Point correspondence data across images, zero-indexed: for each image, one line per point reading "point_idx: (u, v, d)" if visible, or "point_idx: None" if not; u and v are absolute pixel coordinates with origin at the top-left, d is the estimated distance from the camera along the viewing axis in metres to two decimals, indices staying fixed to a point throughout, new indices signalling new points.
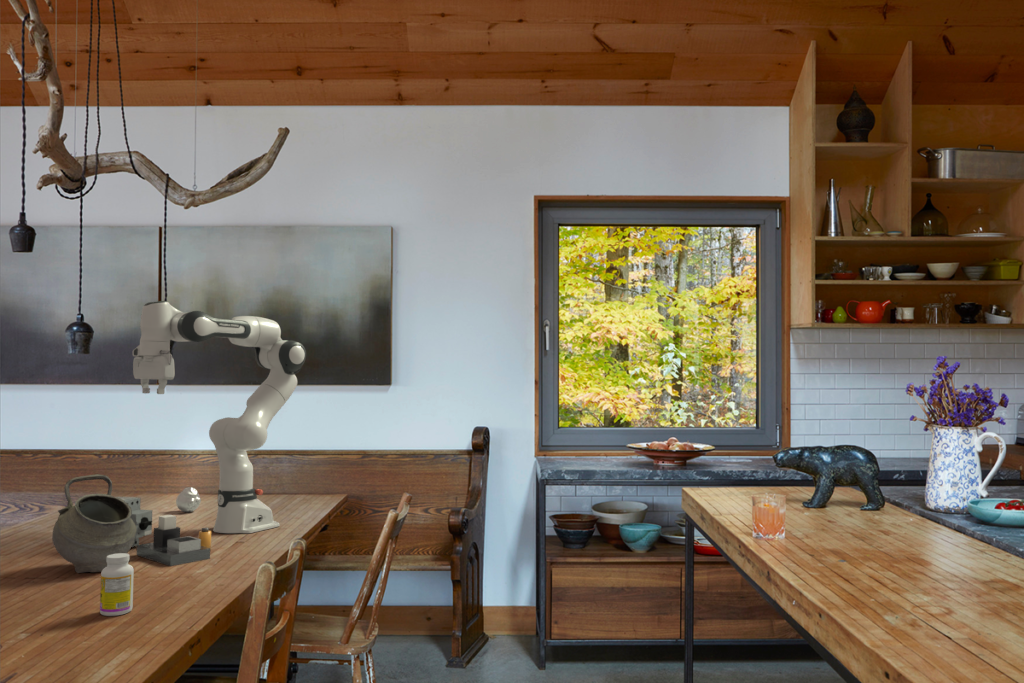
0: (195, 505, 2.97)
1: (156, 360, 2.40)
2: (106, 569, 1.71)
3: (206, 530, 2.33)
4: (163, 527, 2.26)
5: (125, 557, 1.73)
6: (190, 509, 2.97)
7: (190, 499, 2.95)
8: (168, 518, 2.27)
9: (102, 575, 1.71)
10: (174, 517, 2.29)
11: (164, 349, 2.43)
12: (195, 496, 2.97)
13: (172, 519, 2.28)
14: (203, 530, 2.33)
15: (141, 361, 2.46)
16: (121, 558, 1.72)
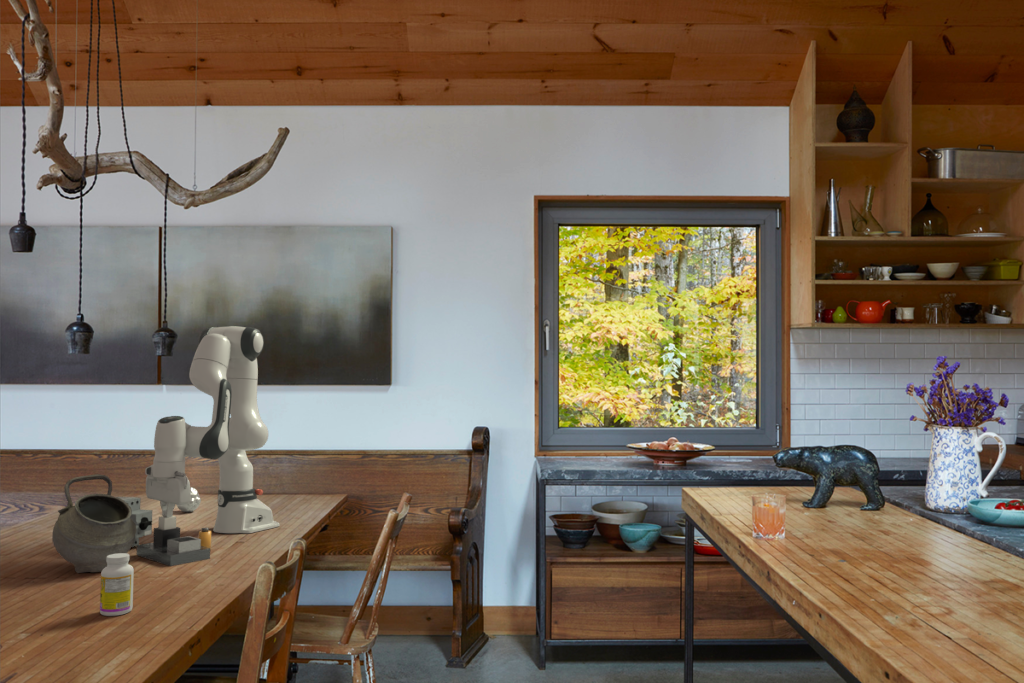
0: (195, 505, 2.97)
1: (171, 483, 2.25)
2: (106, 569, 1.71)
3: (206, 530, 2.33)
4: (163, 528, 2.26)
5: (125, 557, 1.73)
6: (190, 509, 2.97)
7: (190, 499, 2.95)
8: (168, 519, 2.27)
9: (102, 575, 1.71)
10: (174, 518, 2.29)
11: (179, 469, 2.27)
12: (195, 496, 2.97)
13: (172, 520, 2.28)
14: (203, 530, 2.33)
15: (154, 481, 2.31)
16: (121, 558, 1.72)
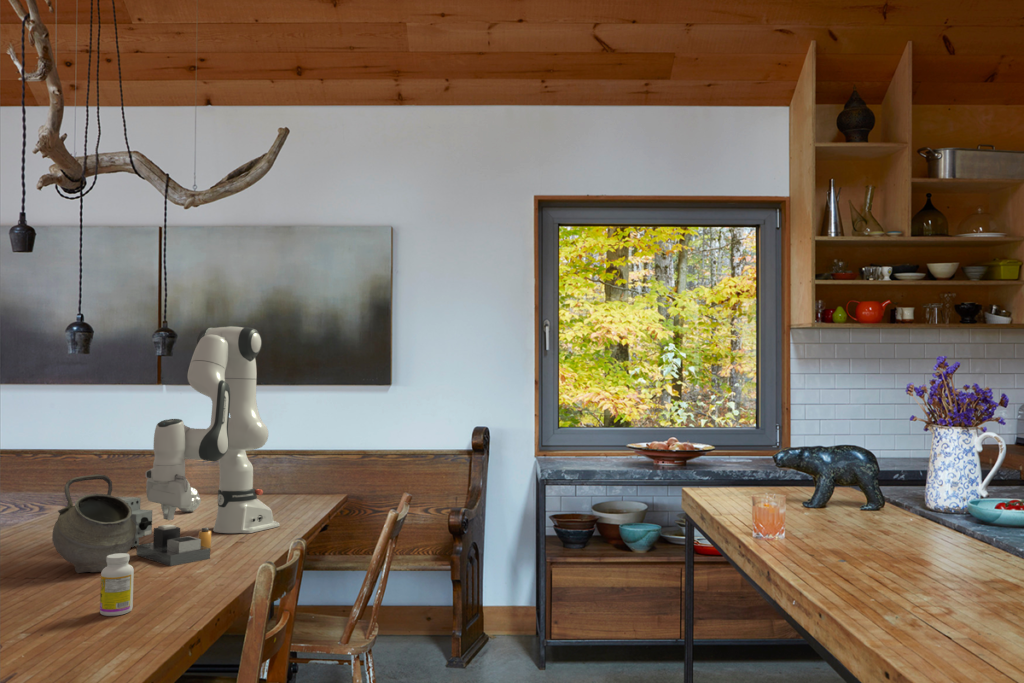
0: (195, 505, 2.97)
1: (171, 486, 2.25)
2: (106, 569, 1.71)
3: (206, 530, 2.33)
4: None
5: (126, 557, 1.73)
6: (190, 509, 2.97)
7: None
8: (168, 528, 2.27)
9: (102, 575, 1.71)
10: (174, 527, 2.28)
11: (179, 473, 2.28)
12: (195, 496, 2.97)
13: None
14: (203, 530, 2.33)
15: (155, 484, 2.31)
16: (121, 558, 1.72)
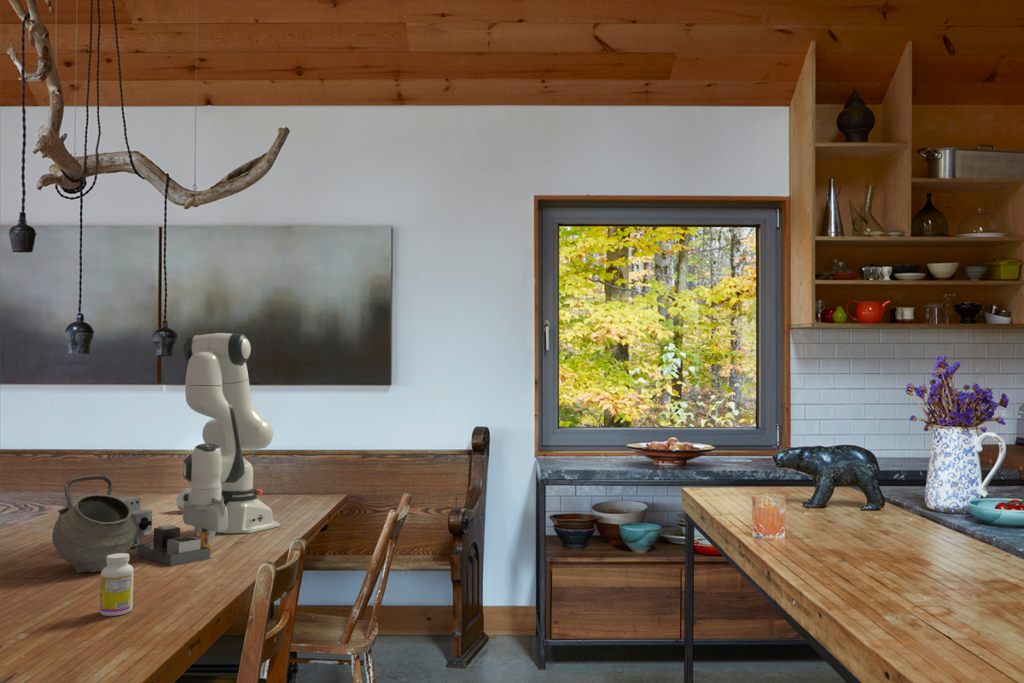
0: None
1: (208, 510, 2.30)
2: (106, 569, 1.71)
3: (206, 530, 2.33)
4: None
5: (125, 557, 1.73)
6: None
7: None
8: (168, 528, 2.27)
9: (102, 575, 1.71)
10: (174, 527, 2.28)
11: (216, 497, 2.33)
12: None
13: None
14: (203, 530, 2.33)
15: (192, 507, 2.36)
16: (121, 558, 1.72)
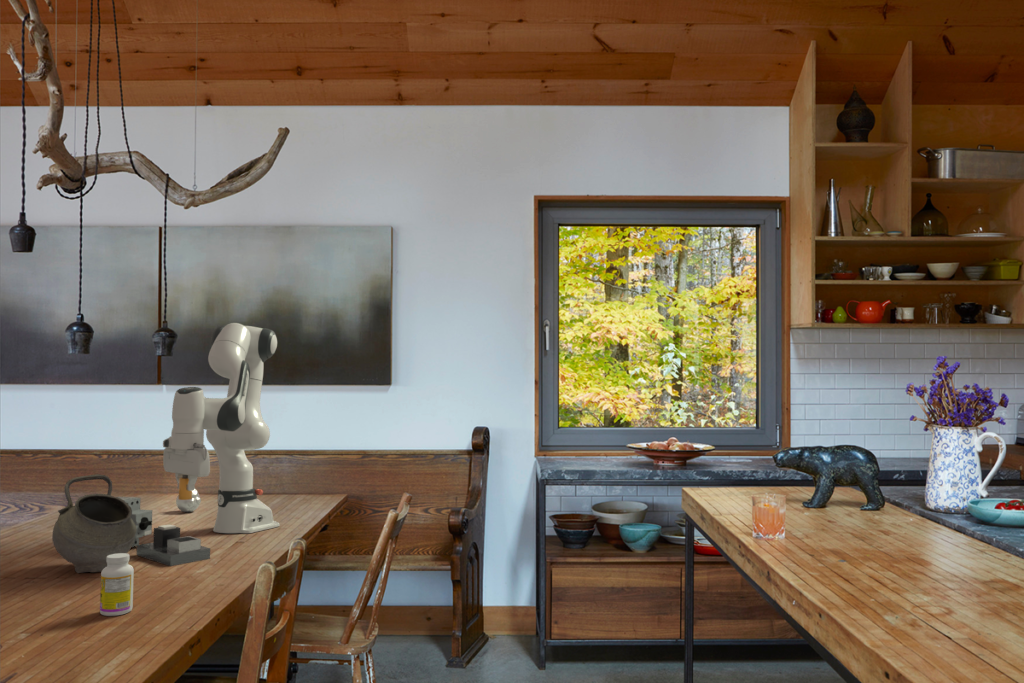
0: (195, 505, 2.97)
1: (189, 454, 2.19)
2: (106, 569, 1.71)
3: (187, 476, 2.22)
4: None
5: (126, 557, 1.73)
6: (190, 509, 2.97)
7: (190, 499, 2.95)
8: (168, 528, 2.27)
9: (102, 575, 1.71)
10: (174, 527, 2.28)
11: (198, 441, 2.22)
12: (195, 496, 2.97)
13: None
14: (184, 476, 2.22)
15: (172, 453, 2.25)
16: (121, 558, 1.72)
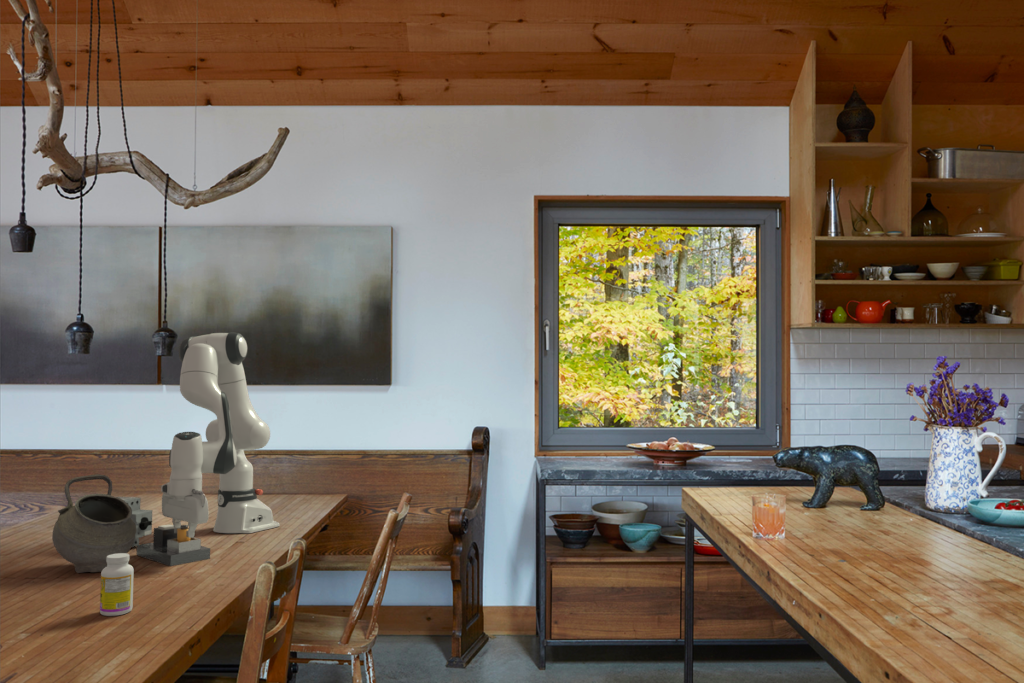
0: None
1: (188, 501, 2.18)
2: (106, 569, 1.71)
3: (185, 527, 2.22)
4: None
5: (125, 557, 1.73)
6: None
7: None
8: (168, 528, 2.27)
9: (102, 575, 1.71)
10: None
11: (196, 487, 2.21)
12: None
13: None
14: (182, 527, 2.22)
15: (171, 498, 2.24)
16: (121, 558, 1.72)
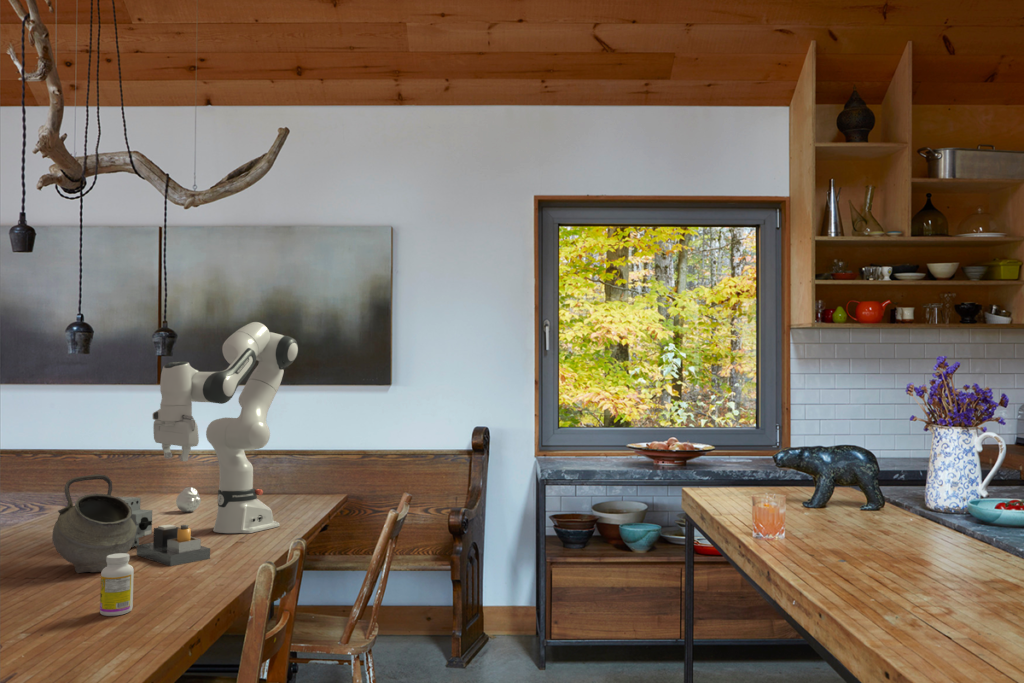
0: (195, 505, 2.97)
1: (178, 426, 2.28)
2: (106, 569, 1.71)
3: (185, 527, 2.22)
4: None
5: (125, 557, 1.73)
6: (190, 509, 2.97)
7: (190, 499, 2.95)
8: (168, 528, 2.27)
9: (102, 575, 1.71)
10: (174, 527, 2.28)
11: (186, 413, 2.31)
12: (195, 496, 2.97)
13: None
14: (182, 527, 2.22)
15: (162, 425, 2.34)
16: (121, 558, 1.72)
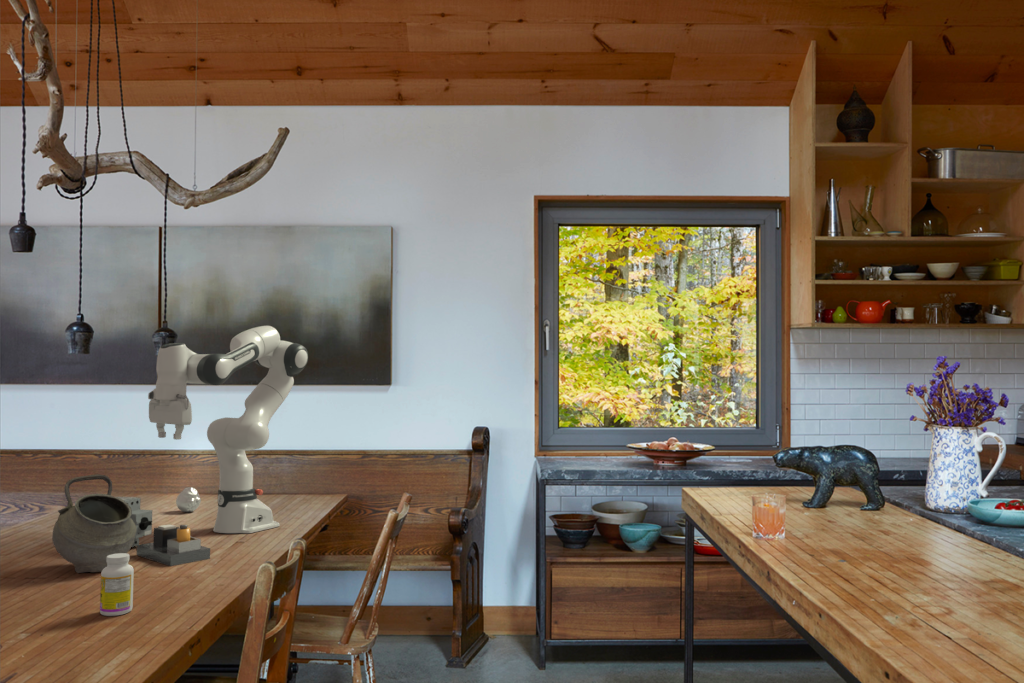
0: (195, 505, 2.97)
1: (173, 404, 2.34)
2: (106, 569, 1.71)
3: (185, 527, 2.22)
4: None
5: (126, 557, 1.73)
6: (190, 509, 2.97)
7: (190, 499, 2.95)
8: (168, 528, 2.27)
9: (102, 575, 1.71)
10: (174, 527, 2.28)
11: (181, 393, 2.37)
12: (195, 496, 2.97)
13: None
14: (181, 527, 2.22)
15: (157, 405, 2.40)
16: (121, 558, 1.72)
